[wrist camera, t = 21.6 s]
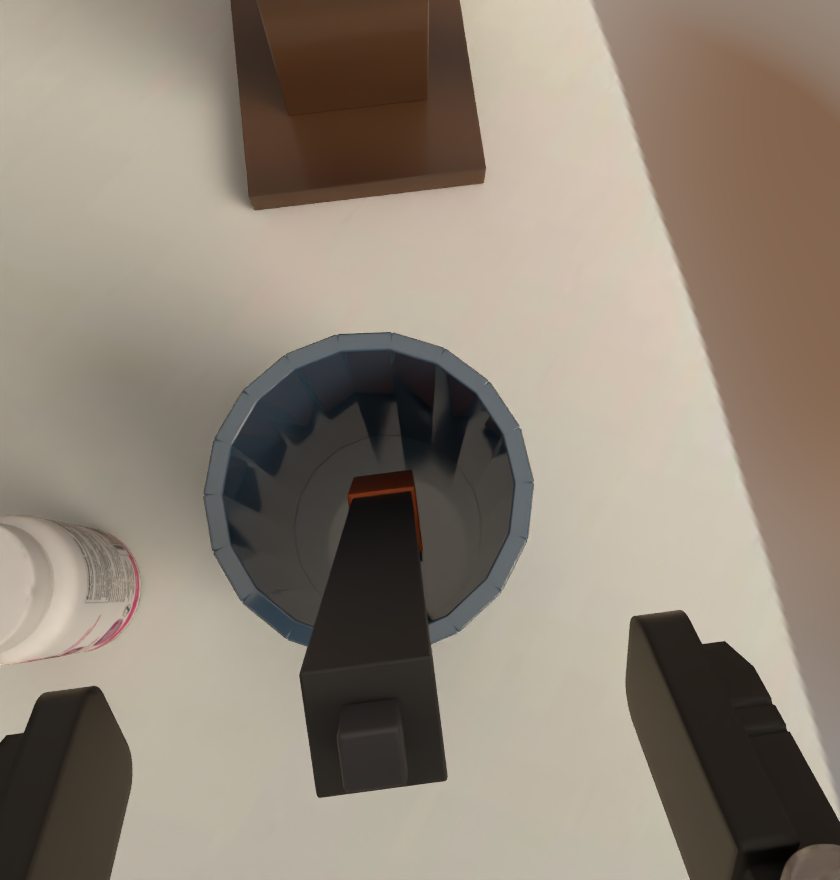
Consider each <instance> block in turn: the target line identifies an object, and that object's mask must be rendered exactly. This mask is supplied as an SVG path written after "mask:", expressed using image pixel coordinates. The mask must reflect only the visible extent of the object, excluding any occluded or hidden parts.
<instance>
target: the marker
mask: <svg viewBox="0 0 840 880" xmlns="http://www.w3.org/2000/svg"><path fill="white" fill-rule="evenodd" d="M347 497H348V505H349V512H348V515H347V518H346V522H345V525H344V528H343V532H342V535H341V538H340V541H339V545H338V548H337V551H336V555H335V558H334V561H333V565H332V568H331V571H330V575H329V578H328V581H327V585H326V588H325V591H324V594H323V598H322V601H321V604H320V608H319V611H318V614H317V618H316V621H315V624H314V628H313V631H312V634H311V638H310V641H309V644H308V648H307V651H306V654H305V657H304V661H303V664H302V667H301V671H300V674H299V676H300V683H301V690H302V697H303V704H304V711H305V718H306V725H307V732H308V739H309V746H310V753H311V760H312V767H313V773H314V780H315V787H316V794H317V796H318V797H319V798H322V797H329V796H337V795H344V794H352V793H359V792H367V791H374V790H382V789H389V788H396V787H404V786H411V785H419V784H426V783H434V782H441V781H446V780H447V777H448V776H447V768H446V760H445V752H444V744H443V736H442V728H441V720H440V713H439V705H438V697H437V689H436V681H435V673H434V665H433V657H432V649H431V641H430V634H429V626H428V618H427V610H426V602H425V595H424V587H423V579H422V571H421V563H420V556H419V552H422V551H423V545H422V537H421V529H420V521H419V513H418V505H417V497H416V489H415V483H414V477H413V471H412V470H405V471H397V472H389V473H381V474H373V475H366V476H358V477H354V478H353V481H352V484H351V487H350V490H349V492H348V496H347Z"/></svg>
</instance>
